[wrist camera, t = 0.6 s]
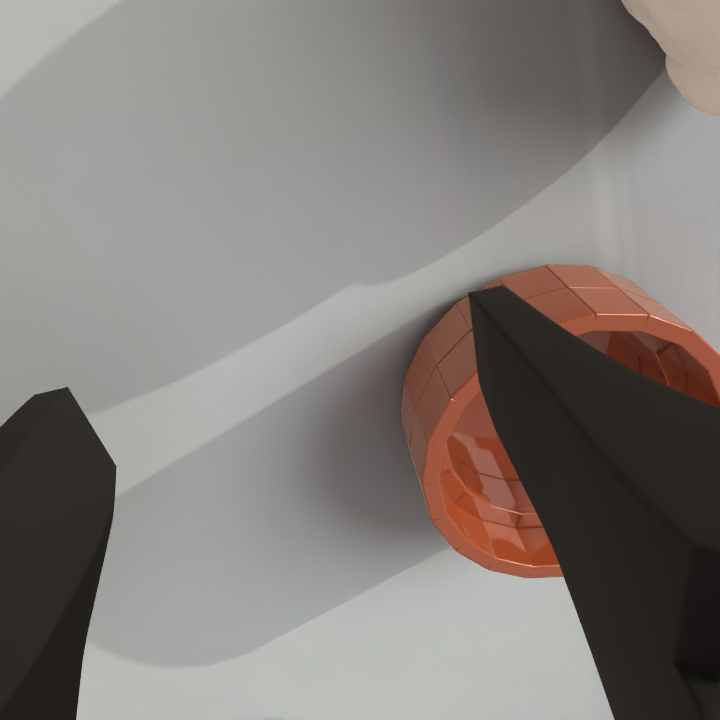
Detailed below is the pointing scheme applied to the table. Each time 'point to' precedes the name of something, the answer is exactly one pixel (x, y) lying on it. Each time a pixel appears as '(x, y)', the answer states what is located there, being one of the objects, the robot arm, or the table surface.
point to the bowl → (475, 427)
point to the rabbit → (686, 45)
